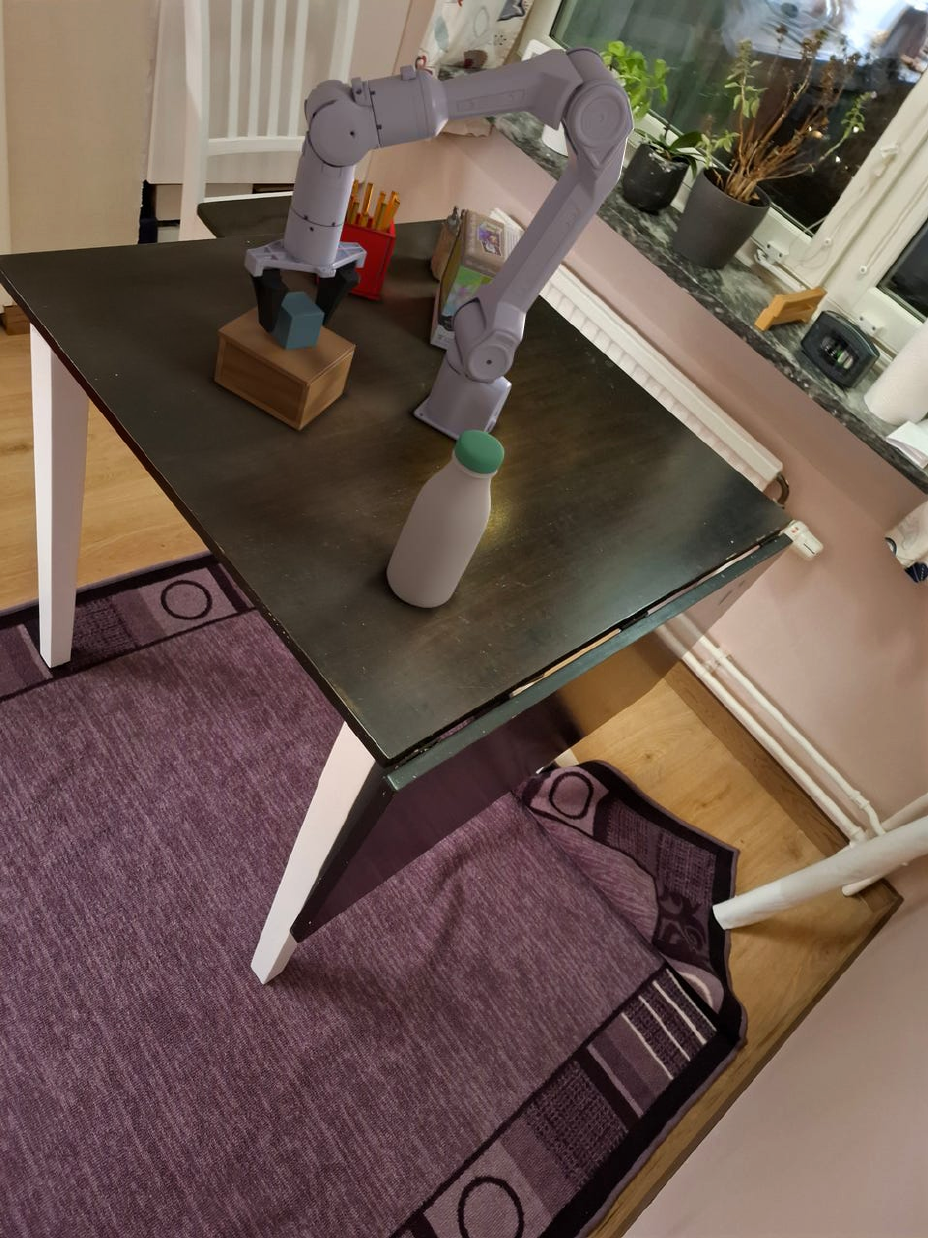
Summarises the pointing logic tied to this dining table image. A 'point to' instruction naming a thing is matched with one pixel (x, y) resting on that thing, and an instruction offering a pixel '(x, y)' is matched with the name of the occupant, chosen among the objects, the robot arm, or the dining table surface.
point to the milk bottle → (446, 523)
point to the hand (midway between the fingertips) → (293, 323)
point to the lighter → (446, 242)
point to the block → (298, 322)
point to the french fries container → (371, 238)
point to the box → (278, 385)
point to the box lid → (292, 363)
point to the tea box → (470, 268)
